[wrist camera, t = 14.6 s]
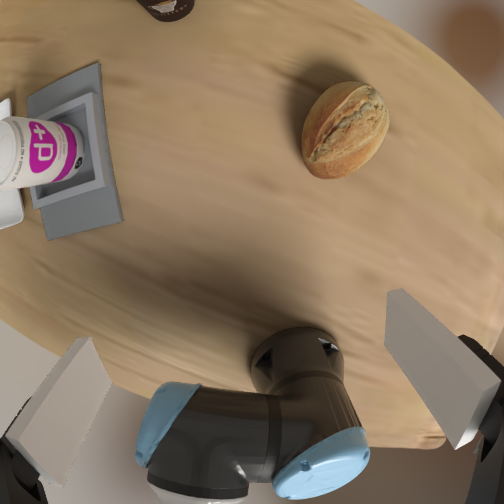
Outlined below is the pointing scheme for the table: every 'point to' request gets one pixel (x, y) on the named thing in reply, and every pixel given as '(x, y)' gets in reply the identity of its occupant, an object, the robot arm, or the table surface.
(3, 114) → the salad plate
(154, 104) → the table surface
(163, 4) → the coffee mug
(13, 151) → the supplement can
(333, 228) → the table surface
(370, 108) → the bread roll
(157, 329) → the table surface
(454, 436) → the robot arm
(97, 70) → the dock
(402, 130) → the table surface
